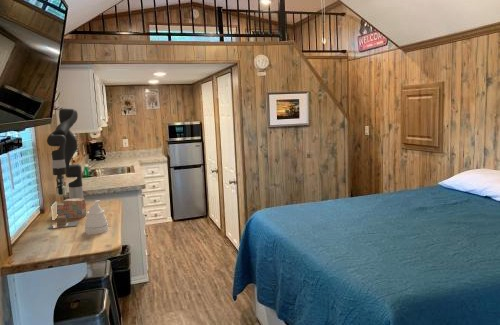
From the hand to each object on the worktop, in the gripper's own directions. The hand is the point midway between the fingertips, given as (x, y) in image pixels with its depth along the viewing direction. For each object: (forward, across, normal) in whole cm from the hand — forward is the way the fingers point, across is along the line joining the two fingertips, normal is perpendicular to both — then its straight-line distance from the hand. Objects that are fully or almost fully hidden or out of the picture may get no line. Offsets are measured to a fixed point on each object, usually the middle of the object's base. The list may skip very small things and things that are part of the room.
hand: (61, 193), depth 246 cm
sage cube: (+1, 0, 0) cm, 1 cm away
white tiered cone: (+21, +21, +20) cm, 36 cm away
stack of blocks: (+20, -21, +1) cm, 29 cm away
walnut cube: (+20, +1, -1) cm, 20 cm away
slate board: (+20, +1, 0) cm, 20 cm away
